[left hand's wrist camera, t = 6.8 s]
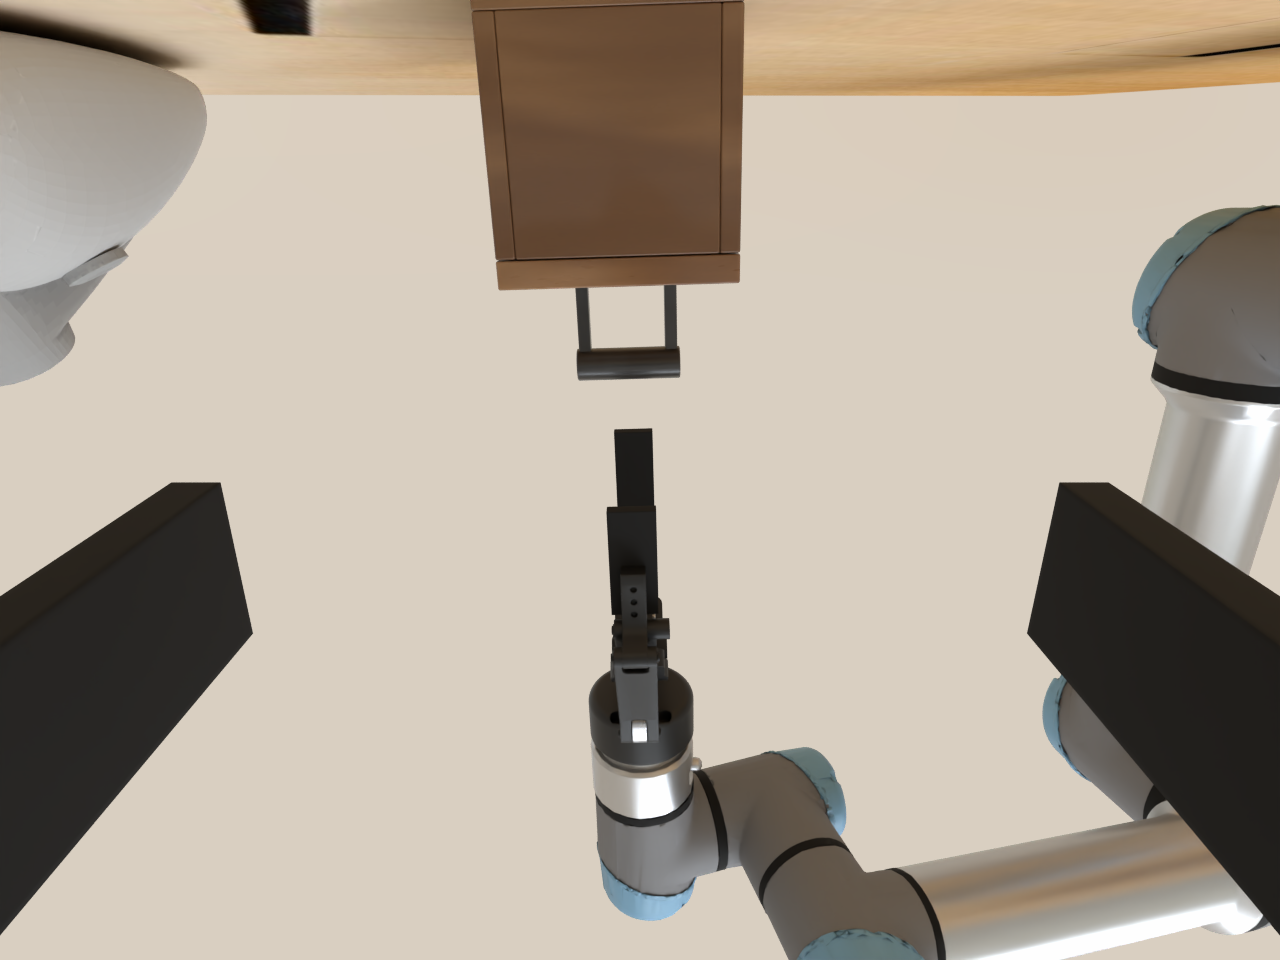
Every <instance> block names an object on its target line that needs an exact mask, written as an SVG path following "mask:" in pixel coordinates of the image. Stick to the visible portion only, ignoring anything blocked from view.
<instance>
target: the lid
mask: <svg viewBox="0 0 1280 960" xmlns="http://www.w3.org/2000/svg"><path fill="white" fill-rule="evenodd" d="M496 269H497V279H498V289H499V290H527V289H559V288H575V289H576V305H577V322H578V338H579V349H578V350H577V374H578V379H579V380H580V381H581V380H614V379H648V378H679V377H680V348H679V346H677V306H676V305H677V304H676V285H687V284H719V283H739V281H740V254H738V253H720V252H719V253H712V254H681V255H649V256H618V257H586V258H555V259H523V260H517V259H514V260H499V261H497V262H496ZM655 285H664V321H665V346H659V347H627V348H593V349H592V346H591V328H590V309H589V291H588V288H591V287H623V286H655Z"/></svg>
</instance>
